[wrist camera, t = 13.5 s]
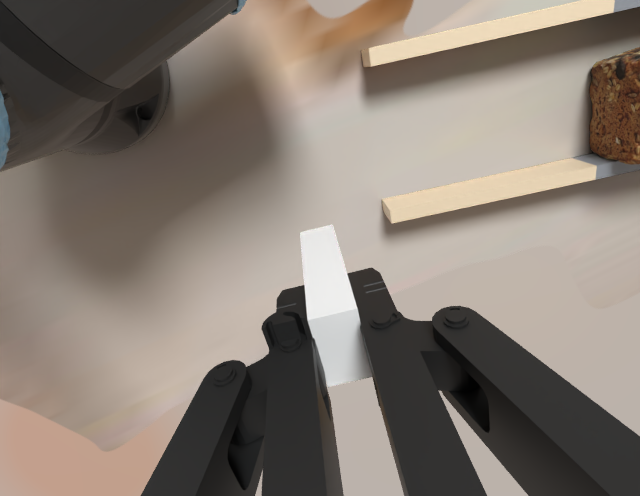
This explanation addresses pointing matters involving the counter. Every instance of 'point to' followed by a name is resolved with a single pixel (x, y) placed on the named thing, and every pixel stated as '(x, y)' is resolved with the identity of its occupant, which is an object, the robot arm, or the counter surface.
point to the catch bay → (512, 182)
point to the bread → (616, 107)
